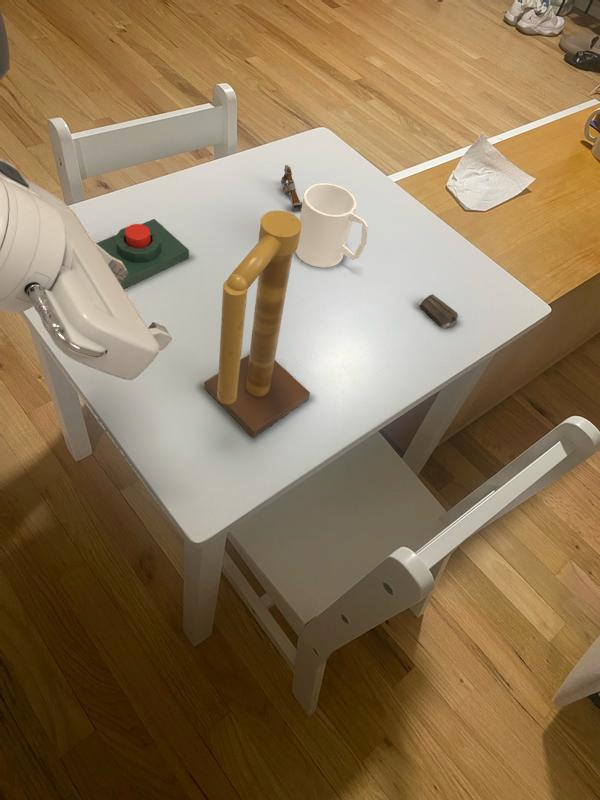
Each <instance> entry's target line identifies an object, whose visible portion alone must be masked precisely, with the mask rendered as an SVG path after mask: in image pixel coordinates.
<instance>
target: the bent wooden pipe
mask: <svg viewBox="0 0 600 800" xmlns="http://www.w3.org/2000/svg"><path fill="white" fill-rule="evenodd" d="M300 232H301V222H300V218H299V217H298V216H296V215H295V214H293V213H291V212H288V211H285V210H271V211H268V212H266V213H264V214H263V215H262V217H261V219H260V225H259V234H258V242H257V243H256V244H255V245H254V247H253V248H252V249H251V250H250V251H249V252H248V254H247V255H246V256H245V257H244V258H243V259H242V261H241V262H240V263H239V264H238V265H237V267H236V268H234V270H233V271H232V272H231V274H230V275H229V276H228V278H227V279H226V280H225V281H224V283H223V284H222V299H221V300H222V301H221V317H220V318H221V319H220V335H219V336H220V339H219V355H218V373H219V374H218V373H217V374H218V393H217V397H218V400H219V401H220V402H221V403H223V404H232V403H233V402H235V401H236V399H237V391H238V381H239V370H240V360H241V359H242V349H243V339H244V330H245V329H244V327H245V319H246V309H247V299H248V289H249V288H250V287H251V286H252V284H254V282H255V281H256V280H257V279H258V277H259V275H260V273H261V272H262V271H263V270H264V268H265V267H266V266H267V265H268V263H269V262H270V261H271V260H272V259H273V257H274V256H275V255H276V256H286V255H290V254H292V253H293V254H294V253H296V250H297V248H298V244H299V238H300Z"/></svg>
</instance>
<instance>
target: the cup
mask: <svg viewBox="0 0 600 800" xmlns="http://www.w3.org/2000/svg"><path fill="white" fill-rule="evenodd" d="M302 202H303V203H302ZM302 202H301V203H302V209H300V215H299V220H300V222H301V232H300V238H299V244H298V248H297V250H296V251H295V253H296V256H297V257H298V258H299V259H300V260H301V261H302V262H304V263H305V264H307V265H310V266H312V267H316V268H332V267H334V266H337V265H338V264H339V263H340V262H341V261H342V260H343V258H344V256H346V257H347V258H348V259H350V260H352V261H353V260H357V259H359V258H360V256H361V255H362V253H363V251H364V250H365V247H366V245H367V241H368V232H369V225H368V223H367V222H366V220H365V219H363V218H362V217H360V216H359V215H357V214H356V213H355V212H356V209H357V200H356V197H355V196H354V194H353V193H352V192H351V191H349V190H348V189H346V188H345V187H343V186H340V185H337V184H334V183H326V182H321V183H316V184H313V185H310V186H309V187H307V188H306V190H305V191H304V194H303V198H302ZM353 222H354V223H358V224H361V236H360V243H359V244H358V247H357V249H356V250H355V252H353V251H352V250H351V249H350V248H348V246H347V243H348V239H349V235H350V232H351V226H352V223H353Z"/></svg>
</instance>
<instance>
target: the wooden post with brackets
mask: <svg viewBox="0 0 600 800" xmlns="http://www.w3.org/2000/svg"><path fill="white" fill-rule="evenodd" d="M283 171H284V174H283V175H282V177H281V180H280V183H281V184H283V187H282V190H284V195H287V196H291V201H292V206H291V211H298V210H299V211H301V209H302V203H303V201H300V198H299V196H298V194H297V188H296V184H295V180H294V179H293V176H292V175H293V172H292V168H291V166H289V165H288V164H285V165H284V169H283Z"/></svg>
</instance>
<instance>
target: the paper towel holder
mask: <svg viewBox="0 0 600 800" xmlns="http://www.w3.org/2000/svg"><path fill="white" fill-rule="evenodd" d="M293 254H294V253H292V254H290V255H286V256H276V255H275V256H274V257H273V259H272V260H271V261H270V262H269V263H268V265H267V266H266V267H265V268H264V270H263V271H262V272H261V273H260V275H259V276H258V277H257V287H256V295H255V304H254V312H253V314H254V315H253V321H252V330H251V338H250V347H249V348H250V349H249V354H248V355H246V356H244V357H243V358H241V360H240V370H239V381H238V391H237V399H236V401H235V402H233V403H232V404H223V403H221V402H220V401H219V400H218V397H217V393H218V374H219V372H218V373H217V374H215V375H213V376H212V377H210V378H208V379H206V380H205V381H204V389H205V391H206V392H207V393H208V394H209V395H210V396H211V397H212V398H213V399H214V400H215V401H216V402H217V403H218V404H219V405H220V406H221V407H222V408H223V409H224V410H225V411H226V412H227V413H228V414H229V415H230V416H231V417H232V418H233V419H234V420H235V421H236V422H237V423H238V424H239V425H240V426H241V427H242V428H243V429H244V431H246V432H247V433H248V434H249V435H250V436H251V437H252V438H253V439H254V438H255V437H256V436H258V435H260V434H261V433H262V432H264V431H265V430H267V429H268V428H270V427H271V426H273V425H274V424H276V423H277V422H278V421H279V420H281V419H282V418H284V417H285V416H287V415H288V414H289V413H291V412H292V411H294V410H295V409H296V408H298V407H299V406H301V405H302V404H303V403H305V402H307V401H308V400H309V399H310V395H311V392H310V391H309V390H308V389H307V388H306V387H305V386H304V385H303V384H301V383H300V381H298V379H296V378H295V377H294V376H293V375H292V374H290V372H289V371H287V370H286V368H284V367H283V366H282V365H281V364H280V363H279V362H277V360H276V354H277V350H278V349H277V348H278V343H279V338H280V332H281V325H282V320H283V314H284V307H285V302H286V297H287V290H288V284H289V277H290V274H291V268H292V267H291V266H292V260H293Z"/></svg>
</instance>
